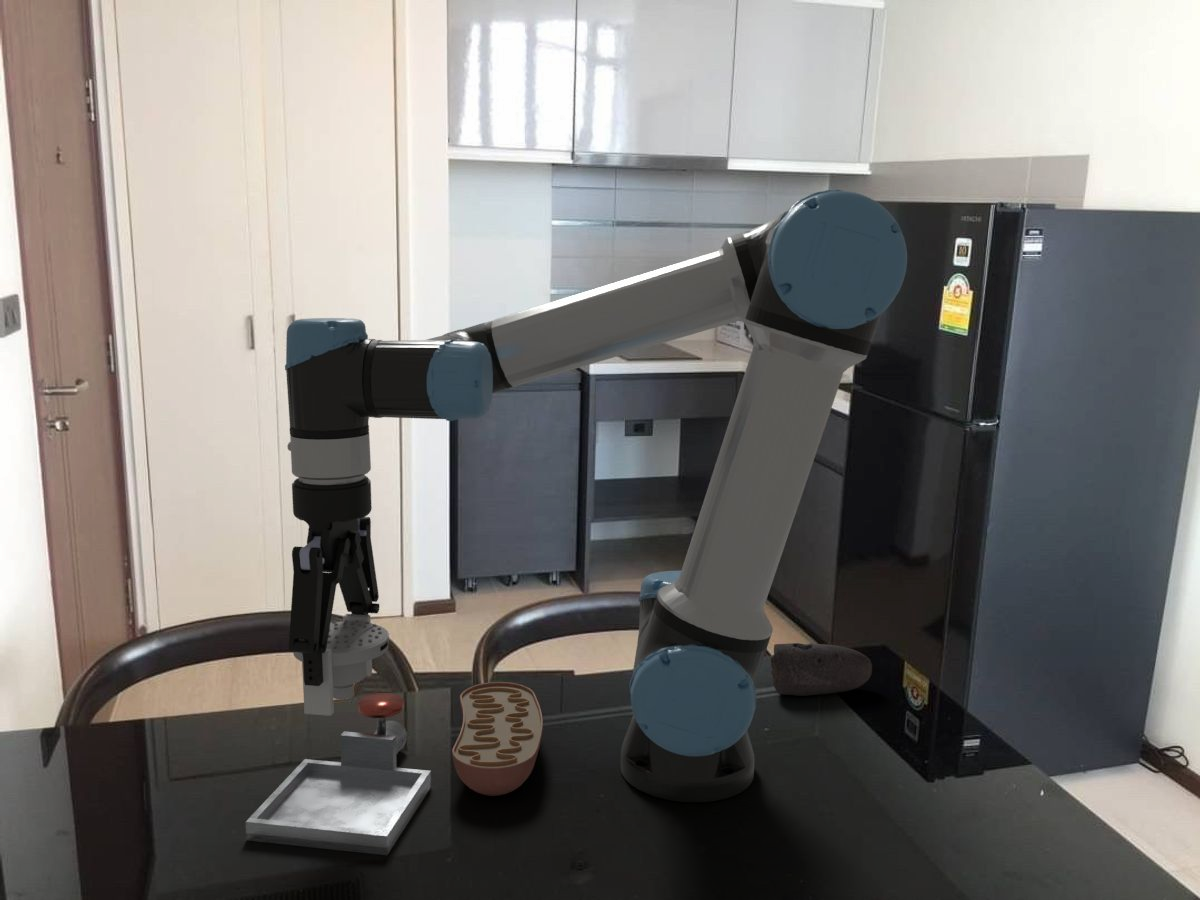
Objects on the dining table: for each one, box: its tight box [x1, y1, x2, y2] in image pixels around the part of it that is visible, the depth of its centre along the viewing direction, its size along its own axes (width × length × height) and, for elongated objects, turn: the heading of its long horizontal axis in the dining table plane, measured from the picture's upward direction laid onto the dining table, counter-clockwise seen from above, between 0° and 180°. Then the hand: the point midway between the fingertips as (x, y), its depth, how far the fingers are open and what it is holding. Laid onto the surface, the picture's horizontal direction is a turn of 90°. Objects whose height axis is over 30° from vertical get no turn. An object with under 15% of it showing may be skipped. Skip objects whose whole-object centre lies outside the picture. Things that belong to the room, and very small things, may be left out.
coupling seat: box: [245, 692, 432, 856], centre depth 111 cm, size 22×14×7 cm
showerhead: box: [292, 620, 390, 701], centre depth 105 cm, size 9×7×10 cm
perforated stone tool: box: [770, 642, 873, 697], centre depth 141 cm, size 15×5×7 cm, turn 98°
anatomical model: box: [451, 681, 544, 797], centre depth 120 cm, size 23×10×5 cm, turn 4°
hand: (339, 692), depth 106 cm, fingers closed on showerhead, 9 cm apart
